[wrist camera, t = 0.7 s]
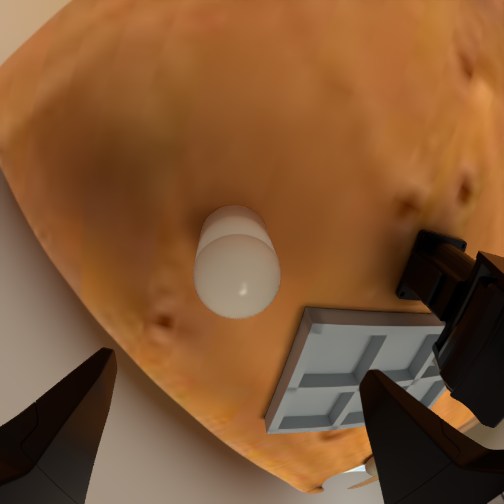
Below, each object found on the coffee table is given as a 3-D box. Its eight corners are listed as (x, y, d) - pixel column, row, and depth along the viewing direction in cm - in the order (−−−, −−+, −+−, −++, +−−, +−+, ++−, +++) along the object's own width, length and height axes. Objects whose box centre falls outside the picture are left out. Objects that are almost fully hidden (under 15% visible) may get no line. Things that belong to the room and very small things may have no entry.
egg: (272, 210, 20) (299, 260, 13) (259, 270, 22) (276, 340, 15) (205, 200, 19) (193, 246, 12) (197, 262, 21) (185, 331, 14)
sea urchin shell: (374, 475, 42) (375, 494, 35) (359, 449, 45) (358, 467, 37) (414, 454, 40) (420, 471, 33) (400, 427, 43) (405, 442, 36)
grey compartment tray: (478, 314, 27) (488, 324, 25) (420, 403, 33) (426, 413, 31) (305, 306, 23) (312, 323, 21) (264, 418, 30) (266, 433, 28)
